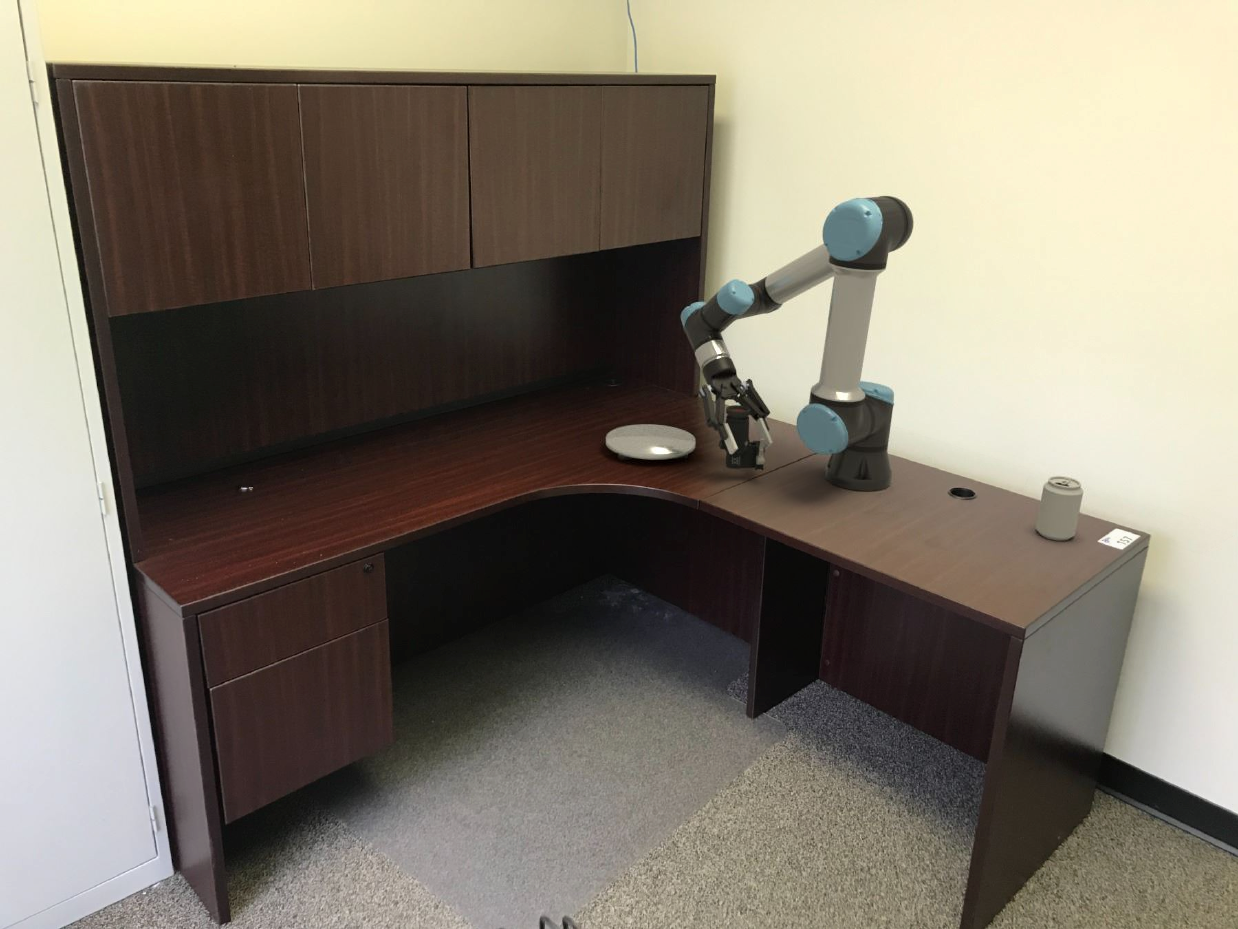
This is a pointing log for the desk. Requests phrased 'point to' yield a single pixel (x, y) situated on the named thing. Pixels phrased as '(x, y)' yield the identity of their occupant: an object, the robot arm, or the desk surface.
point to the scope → (742, 441)
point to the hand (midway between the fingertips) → (751, 448)
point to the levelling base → (650, 442)
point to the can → (1059, 508)
